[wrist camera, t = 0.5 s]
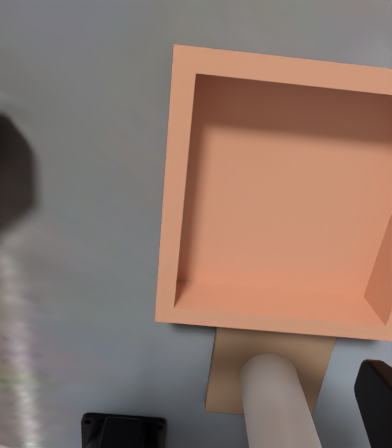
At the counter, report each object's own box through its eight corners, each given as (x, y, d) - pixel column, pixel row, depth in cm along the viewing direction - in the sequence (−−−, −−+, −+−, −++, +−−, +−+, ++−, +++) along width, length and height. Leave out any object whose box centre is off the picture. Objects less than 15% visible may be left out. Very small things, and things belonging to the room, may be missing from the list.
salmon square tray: (370, 305, 24) (397, 341, 20) (160, 287, 23) (154, 321, 20) (448, 80, 18) (502, 81, 15) (178, 50, 18) (174, 44, 15)
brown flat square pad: (307, 410, 27) (310, 419, 27) (204, 402, 27) (204, 411, 26) (333, 327, 24) (337, 335, 24) (217, 317, 24) (218, 324, 23)
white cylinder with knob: (289, 398, 26) (331, 540, 18) (235, 394, 26) (252, 536, 18) (301, 355, 24) (352, 491, 16) (243, 351, 24) (266, 485, 16)
